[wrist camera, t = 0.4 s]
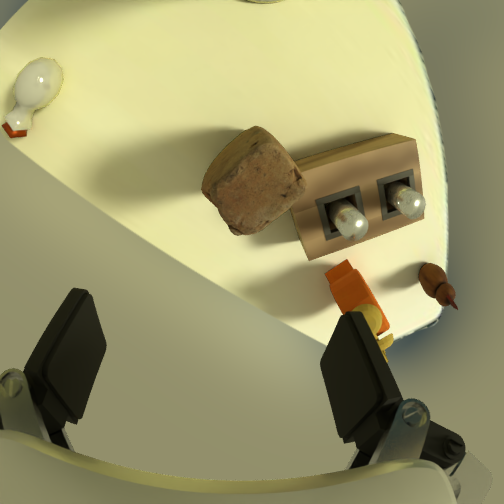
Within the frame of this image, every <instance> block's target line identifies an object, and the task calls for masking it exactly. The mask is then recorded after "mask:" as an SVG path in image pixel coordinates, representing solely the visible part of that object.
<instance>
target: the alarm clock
mask: <svg viewBox="0 0 504 504" xmlns="http://www.w3.org/2000/svg"><path fill="white" fill-rule="evenodd" d="M325 275H326V277H327V279H328V281H329V283H330V289H331V292H332V294H333V296H334V298H335V300H336V303H337V304H338V306H339V308H340V310H341V312H342V314H343V315H344V314H345V312H347V311H360V312H362V313H363V315H364V317H365V319H366V321H367V323H368V325H369V327H370V329H371V331H372V333H373V335H374V337H375V339H376V341H377V343H378V345H379V347H380V349H381V351H382V353H383V356H384V358H385V360H386V362H388V359H387V357H386V355H385V353H386V352H385V349H386V348H388V347H389V346H391V344H392V343H393V339H394V338H393V334H392V333H391V334H389V335H388V336H386V337H384V338H382V339H381V340H379V339H378V337H377V336H379V335H380V334H382V333H384V332H385V331H387V330H388V329H389V328H390V325H389V322H388V321H387V319H386V317H385V315H384V313H383V311H382V309H381V308H380V306H379V304H378V302H377V301H376V299H375V297H374V295H373V294H372V292H371V290H370V289H369V287H368V285H367V284H366V282H365V281H364V279H363V277H362V276H361V274H360V273H359V271H358V270H357V269H353V268H352V266H351V264H350V263H349V261H348V260H347V259H346V260H345V261H343V262H342V263H340V264H339V265H337V266H336V267H334V268H333V269H331V270H330V271H328V272H327V273H325Z"/></svg>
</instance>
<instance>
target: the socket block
mask: <svg viewBox="0 0 504 504" xmlns="http://www.w3.org/2000/svg"><path fill="white" fill-rule="evenodd" d="M294 162H295V164H296V165H297V167H298V168H299V170H300V172H301V173H302V175H303V177H304V178H305V180H306V182H307V187H308V188H307V190H306V192H305V194H304V195H303V196H302V197H301V198H300V199H299V200H298V201H297V202H295V203H294V204H293V205H292V206H291V207H290V211H291V214H292V217H293V220H294V223H295V226H296V230H297V233H298V236H299V239H300V242H301V244H302V246H303V249H304V251H305V253H306V256H307V258H308V260H309V261H310V260H313V259H316V258H319V257H322V256H325V255H328V254H330V253H333V252H336V251H339V250H342V249H344V248H347V247H350V246H353V245H355V244H358V243H361V242H364V241H366V240H369V239H372V238H375V237H377V236H380V235H383V234H385V233H388V232H391V231H393V230H396V229H399V228H401V227H404V226H406V225H409V224H412V223H414V222H417V221H419V220H422V219H424V212H423V213H422V215H421V216H420V217H418V218H416V219H409V218H408V217H406V216H405V215H404V214H403V213H401V212H400V211H399V210H398V209H396V208H395V207H394V206H392V205H391V204H390V203H389V202H387V201H386V198H385V192H384V186H383V184H386V183H389V182H393V181H396V180H398V181H400V182H402V183H403V184H405V185H407V186H408V187H410V188H412V189H413V190H415V191H417V192H418V193H420V194H421V195H423V191H422V181H421V172H420V164H419V157H418V150H417V144H416V139H413V138H409V137H406V136H402V135H398V134H395V133H392V134H388V135H384V136H380V137H376V138H372V139H368V140H364V141H361V142H357V143H353V144H350V145H346V146H343V147H339V148H336V149H333V150H329V151H326V152H323V153H319V154H316V155H313V156H310V157H307V158H303V159H300V160H297V161H294ZM341 198H346V199H347V200H348V201H349V202H350V203H351V204H352V205H353V206H354V207H355V208H356V209H357V210H358V211H359V212H360V213H361V214H362V215H363V216H364V217H365V218H366V219H367V221H368V230H367V233H366V234H365V235H364V237H362V238H361V239H360V240H357V241H348V240H346V239H345V238H344V237H343V235H342V234H341V233H340V231H339V230H338V229H337V227H336V226H335V225H334V223H333V222H332V221H331V219H330V218H329V217H328V215H327V213H326V211H325V207H324V204H326V203H329V202H332V201H335V200H338V199H341Z"/></svg>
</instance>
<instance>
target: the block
mask: <svg viewBox="0 0 504 504" xmlns="http://www.w3.org/2000/svg"><path fill="white" fill-rule="evenodd" d="M307 188H308V187H307V182H306V180H305V178H304V177H303V175H302V173H301V172H300V170H299V168H298V167H297V165H296V164H295V162H294V161H293V159H292V158H291V157H290V155H289V154H288V153H287V151H286V150H285V149H284V147H283V146H282V145H281V144H280V143H279V142H278V141H277V140H276V139H275V138H274V136H273V135H271V134H270V133H269V132H268V131H266V130H265V129H264V128H262V127H258V126H254V127H251V128H250V129H248V130H245V131H244V132H243V133H241V134H240V135H239V136H237V137H236V138H235V139H234V140H233V141H232V142H231V143H229V144H228V145H227V146H226V147H225V148H224V149H223V150H222V152H221V153H220V154H219V155H218V156H217V157H216V158H215V160H214V161H213V162H212V163H211V165H210V166H209V168H208V170H207V172H206V174H205V176H204V179H203V182H202V187H201V190H202V193H203V194H204V195H205V197H206V198H207V199H208V200H209V201H210V202H212V203H213V204H214V205H215V206H216V207H217V208H218V211H219V214H220V215H221V217H222V218H223V220H224V221H225V222H226V223H227V225H228V227H229V229H230V231H231V232H232V233H233V234H234V235H237V236H238V235H242V234H243V235H251V234H255V233H257V232H259V231H261V230H263V229H264V228H265V227H266V226H268V225H269V224H270V223H271V222H272V221H274V220H275V219H277V218H278V217H279V216H280V215H282V214H283V213H285V212H286V211H287V210H288V209H289V208H290V207H291V206H292V205H293V204H294V203H295V202H297V201H298V200H299V199H300V198H301V197H302V196H303V195H304V194H305V192H306V190H307Z"/></svg>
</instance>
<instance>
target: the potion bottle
mask: <svg viewBox="0 0 504 504" xmlns="http://www.w3.org/2000/svg"><path fill="white" fill-rule="evenodd" d="M63 81H64V78H63V71H62V67H61V66H60V65H59V64H58V63H57V62H56V60H55V59H51V58H45V57H40V58H38V59H35V60H33V61H31V62H29V63H28V64H27V65H26V66H25V67H24V68H23V69H22V70H21V71H20V72H19V73H18V75H17V78H16V81H15V84H14V87H13V93H14V97H15V100H16V101H17V102H16V105H15V107H14V109H13V110H12V111H11V112H9V113H8V114H7V115H5V116H4V118H5V120H6V121H7V122H6V123H4V124H3V125H2V127H3V128H4V130H5V131H6V133H7V134H8V135H9V137H10V138H15V137H25V136H27V130H28V129H32V115H33V113H34V111H35V110H37V109H40V108H43V107H46V106H48V105H49V104H50V103H51V102H52V101H53V100H54V99H55V98H56V97H57V96H58V94H59V92H60V89H61V86H62V83H63Z"/></svg>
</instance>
